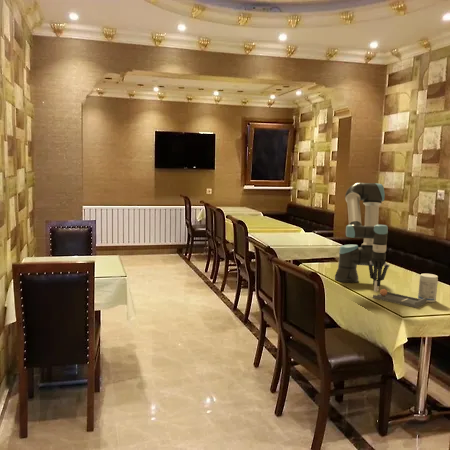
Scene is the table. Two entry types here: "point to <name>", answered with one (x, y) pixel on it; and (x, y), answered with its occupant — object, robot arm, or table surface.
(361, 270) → the table surface
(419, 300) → the grey tray
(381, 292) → the ball
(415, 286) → the table surface
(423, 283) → the supplement tub
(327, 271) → the table surface
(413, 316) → the table surface
